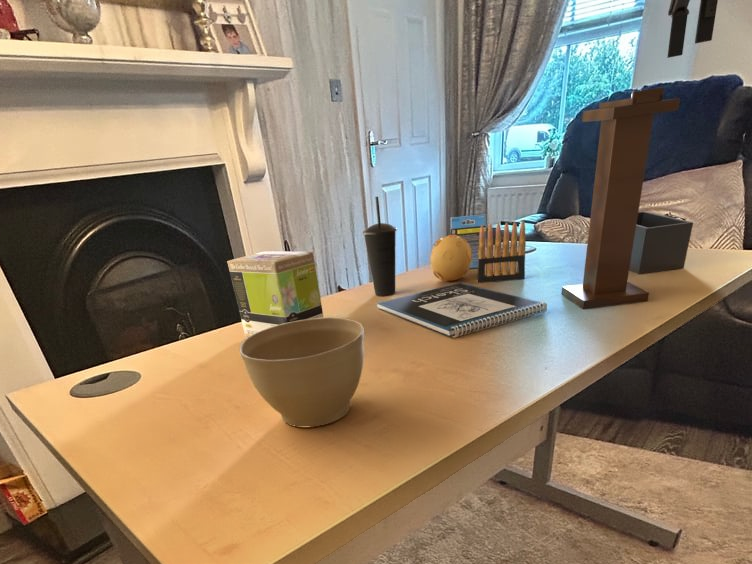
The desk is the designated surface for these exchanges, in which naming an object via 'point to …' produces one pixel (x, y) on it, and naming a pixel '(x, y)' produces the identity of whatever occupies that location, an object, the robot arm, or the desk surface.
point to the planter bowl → (307, 367)
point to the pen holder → (659, 243)
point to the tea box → (275, 288)
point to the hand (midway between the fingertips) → (688, 49)
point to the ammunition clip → (510, 263)
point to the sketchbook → (461, 308)
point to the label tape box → (469, 233)
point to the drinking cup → (382, 255)
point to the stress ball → (451, 258)
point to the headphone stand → (617, 198)
